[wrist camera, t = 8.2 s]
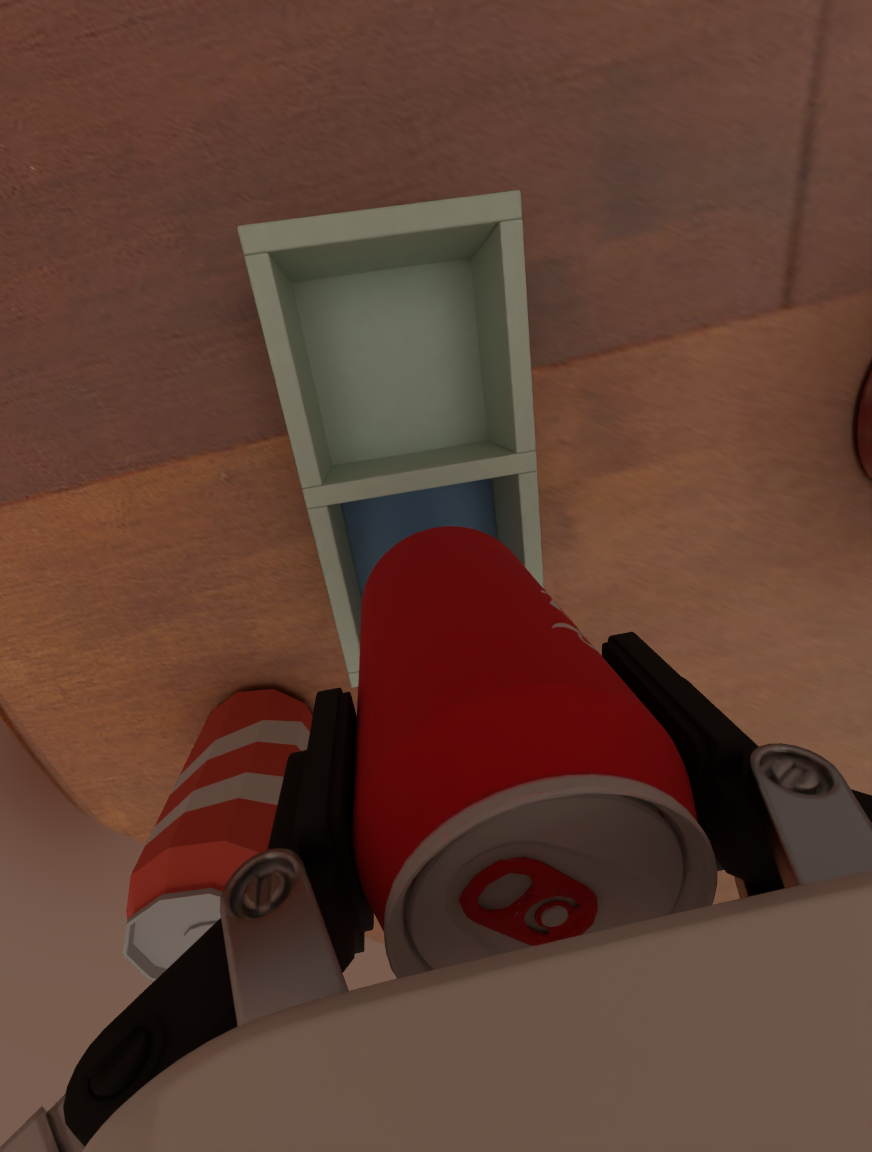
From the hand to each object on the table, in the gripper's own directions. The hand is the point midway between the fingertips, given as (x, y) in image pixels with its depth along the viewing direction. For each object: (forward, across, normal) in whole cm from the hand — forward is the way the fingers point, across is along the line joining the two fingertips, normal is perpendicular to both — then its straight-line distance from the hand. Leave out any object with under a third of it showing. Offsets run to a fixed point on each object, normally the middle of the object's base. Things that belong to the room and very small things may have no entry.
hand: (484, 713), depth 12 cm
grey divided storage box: (+15, 0, -4) cm, 15 cm away
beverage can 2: (+7, 0, 0) cm, 7 cm away
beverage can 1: (+15, +11, +10) cm, 21 cm away
